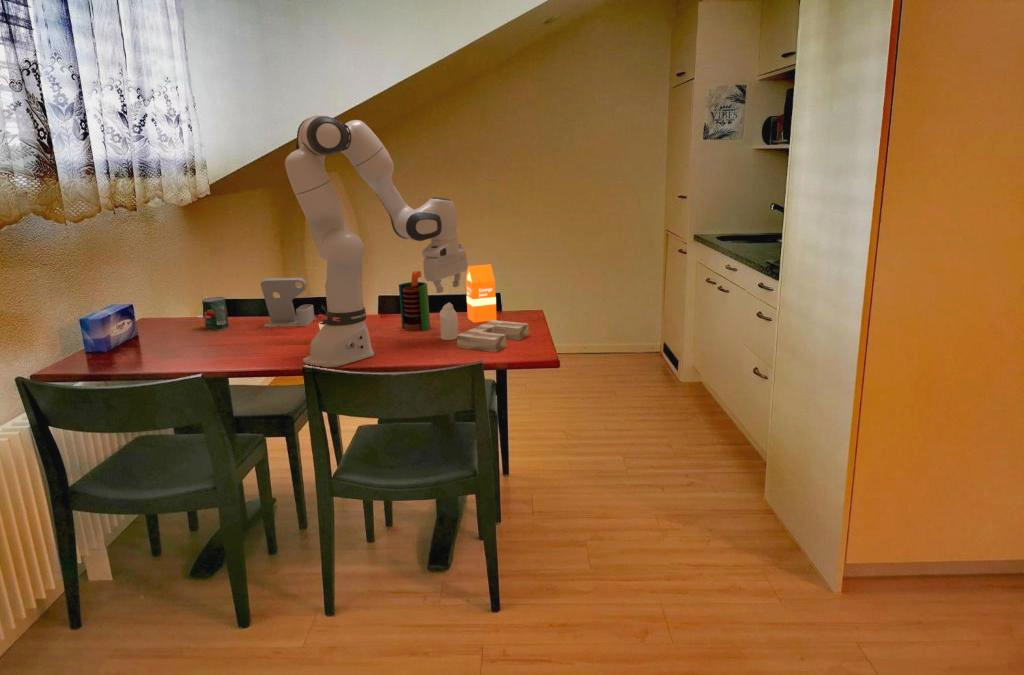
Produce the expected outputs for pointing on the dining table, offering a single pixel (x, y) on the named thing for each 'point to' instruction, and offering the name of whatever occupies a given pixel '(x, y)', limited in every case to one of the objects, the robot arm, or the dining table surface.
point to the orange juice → (481, 293)
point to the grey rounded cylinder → (448, 322)
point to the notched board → (492, 335)
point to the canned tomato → (215, 313)
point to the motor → (414, 304)
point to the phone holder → (285, 302)
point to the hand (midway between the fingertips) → (448, 289)
